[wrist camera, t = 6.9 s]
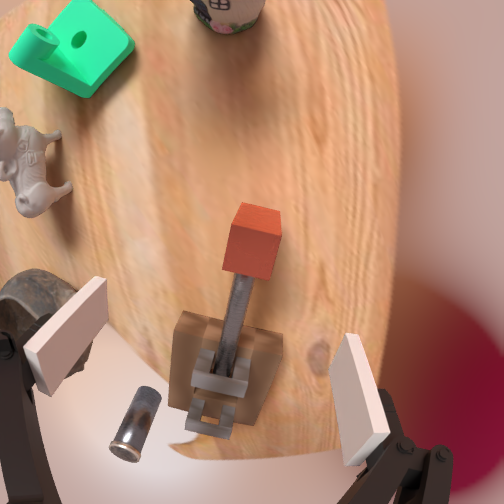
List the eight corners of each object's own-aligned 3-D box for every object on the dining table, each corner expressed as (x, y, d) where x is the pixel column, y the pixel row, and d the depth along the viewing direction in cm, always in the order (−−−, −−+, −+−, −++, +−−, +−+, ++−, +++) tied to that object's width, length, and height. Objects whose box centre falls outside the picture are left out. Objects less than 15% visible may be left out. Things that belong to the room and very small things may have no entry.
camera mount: (142, 47, 24) (91, 20, 15) (94, 98, 26) (33, 93, 17) (91, -2, 21) (40, -29, 12) (50, 44, 24) (-7, 32, 14)
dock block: (175, 386, 40) (159, 428, 33) (183, 310, 35) (162, 354, 27) (255, 405, 40) (251, 449, 33) (282, 333, 35) (283, 382, 28)
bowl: (106, 358, 39) (76, 404, 30) (30, 317, 39) (-6, 351, 29) (112, 282, 34) (69, 327, 25) (25, 241, 33) (-23, 270, 24)
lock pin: (210, 351, 34) (198, 395, 27) (242, 202, 27) (231, 224, 21) (239, 358, 34) (232, 403, 27) (280, 211, 27) (281, 236, 21)
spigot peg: (137, 398, 42) (111, 455, 31) (136, 381, 41) (106, 441, 30) (162, 406, 42) (140, 465, 31) (163, 390, 41) (138, 452, 30)
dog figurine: (56, 99, 26) (-8, 97, 16) (78, 198, 31) (17, 225, 21) (28, 117, 27) (-34, 122, 17) (49, 210, 31) (-9, 238, 22)
